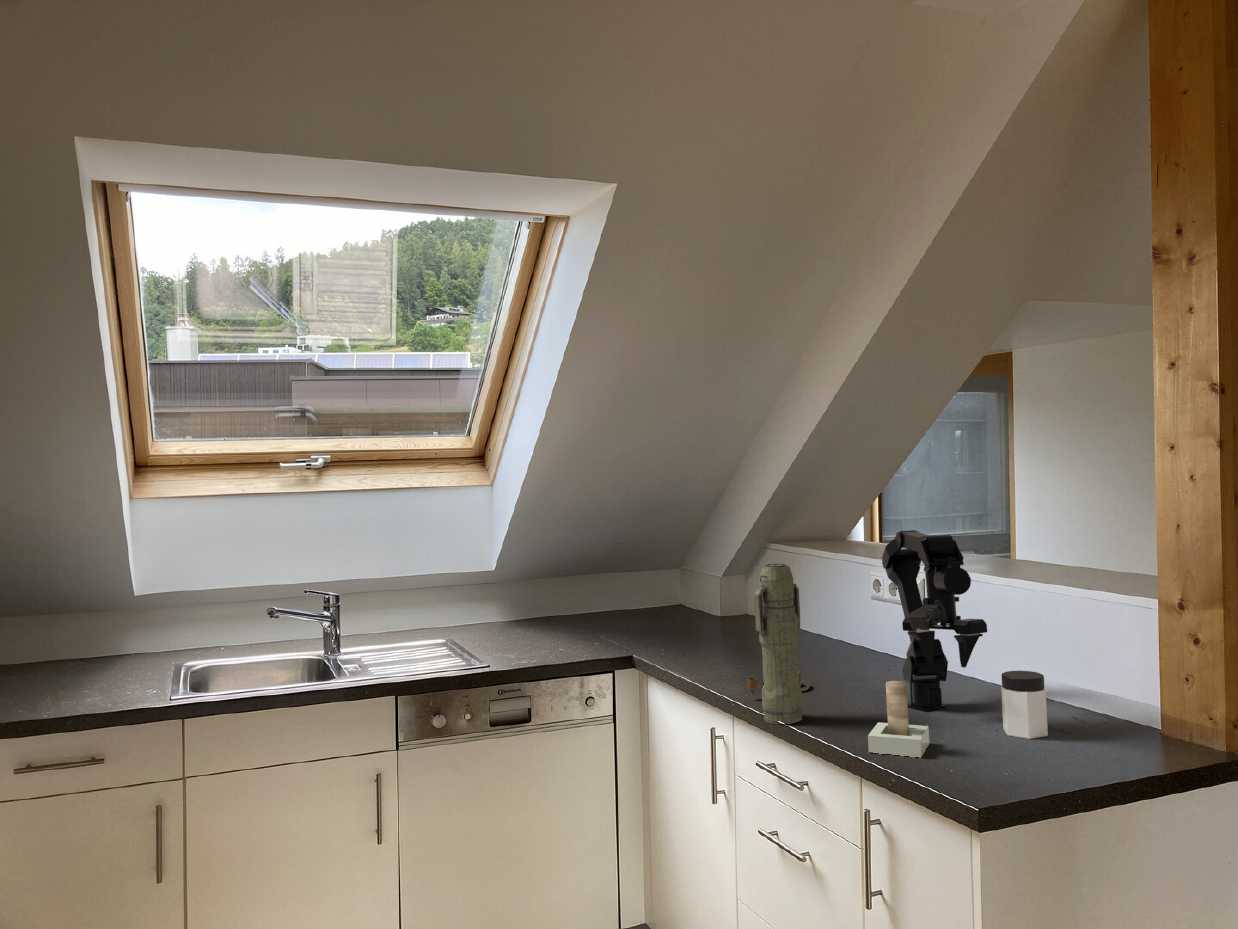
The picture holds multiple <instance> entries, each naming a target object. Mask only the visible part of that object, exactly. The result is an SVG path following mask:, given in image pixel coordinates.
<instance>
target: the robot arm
mask: <svg viewBox="0 0 1238 929" xmlns="http://www.w3.org/2000/svg"><path fill="white" fill-rule="evenodd" d="M881 563H882V567H883V569H884V570H885V572H886V575H887V579H889V580H890V581H891V582H892V583H893V584H894V585H896V588H897V592H898V596H899V601H900V605H901V606H902V607H901V608H902V612H903V616H904V618H903V620H902V624H901V625H902V631H905V632H906V631H907V635H908V637H909V641H910V644H909V646H908V647H907V651H906V654H905V655H906V659H905V661H904V664H903V666H902V671H901V672H902V677H903V680H905V681H906V682H907V683H909V690H910V702H908V708H912V709H916V710H920V711H924V712H929V711H933V710H939V709H943V708H946V707H947V704H945V703H942V702H943V701H942V699H943V698H942V697H943V696H942V688H941V682H946V681H947V676H948V668H949V661H948V659H947V657H946V655H945V653H944V651H943V645H942V642H941V640H940V639H939V638H935V635H936V634H935V633H936V631H935V630H948V631H949V630H950V631H954V632H955V633H956V634H955V635H953V638H954V639H955V640H956V642H957V643H958V644H957V645H958V646H957V647H958V653H959V662H960V667H961V668H963V669H964V668H967V665H968V663H969V661H970V658H971V655H972V652H973V650H974V648H975V646H976V645H977V642H978V641H979V638H980V637H983V636H984V635H983V634H984V633H985V634H986V633H988V625H987V622H986V621H985V620H984V619H982V618H966V619H965V618H963V619H962V617H961V615H957V609H956V607H957V605H956V602H960V596H958V595H963V594H965V593H967V592H968V590H969V589H970V587H971V584H972V578H971V577H970V574H969V572H968V571H967V570H966V569H964V568H963V567H961V566H965V563H964V555H963V553H962V552H961V550H960V548H959V546H958V544H957V540H956V539H954V537H953V536H952V535H951V534H936V535H935V534H934V535H933V534H932V535H931V534H930V535H929V534H925V533H923V532H920V531H918V530H915V529H911V530H899V531H898V532H896V534H895V537H894V539H892V540H891V541H890V542H889V543H888V544H886V545H885V547H884V550H883V553H882V556H881ZM921 563H923V565H924V568H923V572H924V573H925V586H926V596H927V597H924V598H922V597H921V594H920V593H921V592H920V589H919V585H918V581H917V579H918V575H919V572H920V570H921ZM955 595H957V596H955ZM931 629H933V630H931ZM934 629H935V630H934Z"/></svg>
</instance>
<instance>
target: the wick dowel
mask: <svg viewBox="0 0 1238 929" xmlns="http://www.w3.org/2000/svg"><path fill="white" fill-rule="evenodd" d="M907 683H908V682H907V681H906V682H905V681H901V680H900V681H899V680H890V681H886V682H885V689H886V690H885V693H886V694H885V696H886V697H885V699H886V714H887V723H888V734H891V735H903V736H909V725H910V723H909V709H908V708H909V707H908V703H909V701H908V689H907V688H908V687H907V685H908V684H907Z"/></svg>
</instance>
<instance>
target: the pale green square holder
mask: <svg viewBox="0 0 1238 929" xmlns="http://www.w3.org/2000/svg"><path fill="white" fill-rule="evenodd" d="M929 728H930V727H929V725H918V724H909V736H903V735H891V734H888V722H880V721H878V722H877V723H876V725H875V726H874V727H873V728H872V730H871V731H870V732H869V733H868V735H867V744H868V746H867V747H868V753H869V752H873V753H879V754H878V755H881V754H892V755H891V756H893V755H900V756H899V757H904V756H909V757H908V758H915V757H919V758H918V759H922V758H923V756H922V755H924V754H925V752H926V750H927V749H926V748H928V747H929V745H930V731H929V730H930V729H929ZM921 757H922V758H921Z"/></svg>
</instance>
